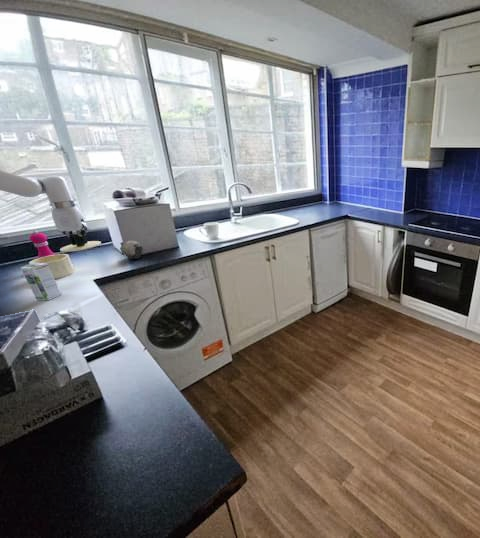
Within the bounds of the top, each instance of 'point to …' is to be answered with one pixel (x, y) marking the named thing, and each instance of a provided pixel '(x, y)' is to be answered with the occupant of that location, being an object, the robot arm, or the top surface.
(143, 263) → the top surface
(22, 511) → the top surface
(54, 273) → the pot
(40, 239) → the pepper mill
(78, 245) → the lid
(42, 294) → the syrup box
